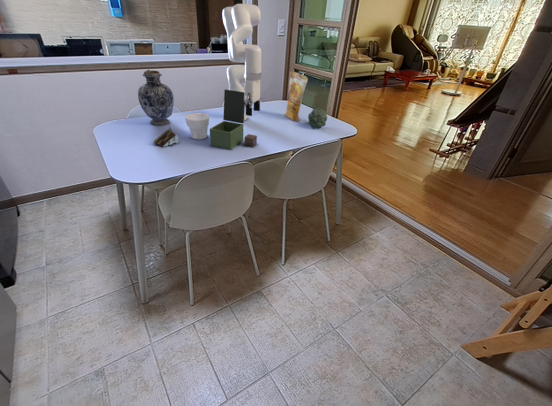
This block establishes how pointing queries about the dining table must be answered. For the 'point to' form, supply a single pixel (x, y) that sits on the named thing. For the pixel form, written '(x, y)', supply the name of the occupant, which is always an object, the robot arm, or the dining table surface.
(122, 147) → the dining table surface
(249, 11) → the robot arm
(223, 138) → the bin
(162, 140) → the chocolate cake
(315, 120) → the vegetable
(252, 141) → the block
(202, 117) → the cup
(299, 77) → the pancake mix bag
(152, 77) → the decorative vase
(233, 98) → the bin lid
